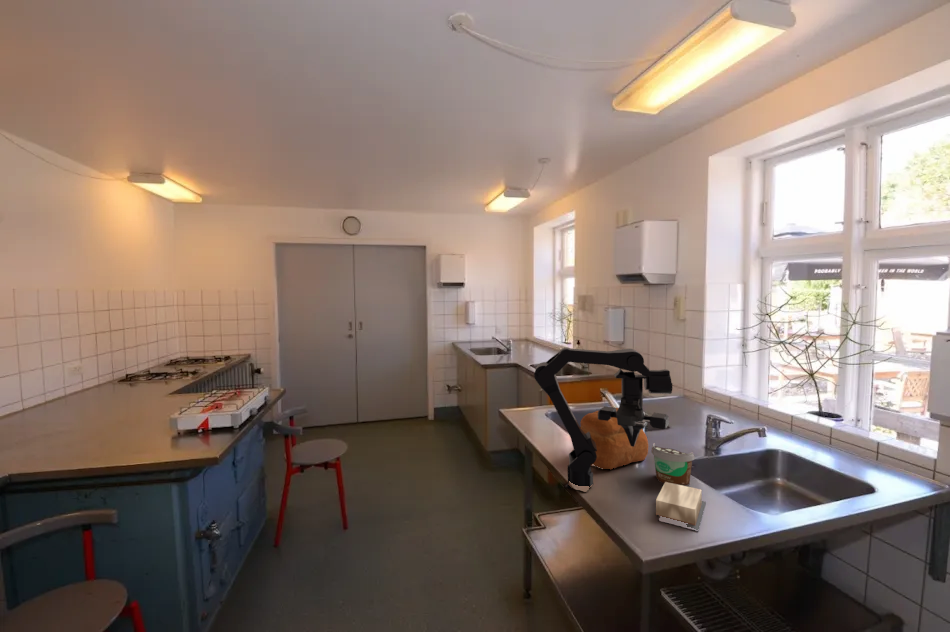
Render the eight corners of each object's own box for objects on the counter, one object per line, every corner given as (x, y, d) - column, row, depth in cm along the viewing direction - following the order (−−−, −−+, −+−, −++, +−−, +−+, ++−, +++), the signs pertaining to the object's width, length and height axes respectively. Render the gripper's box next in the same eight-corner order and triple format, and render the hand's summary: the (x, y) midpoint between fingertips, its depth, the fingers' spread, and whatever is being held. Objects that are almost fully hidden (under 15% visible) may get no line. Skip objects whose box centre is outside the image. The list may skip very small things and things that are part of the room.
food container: (644, 480, 128) (644, 448, 127) (652, 473, 132) (652, 442, 132) (687, 492, 119) (687, 458, 119) (694, 485, 123) (694, 452, 123)
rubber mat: (657, 521, 105) (657, 519, 105) (669, 494, 118) (669, 493, 118) (698, 532, 100) (698, 530, 100) (705, 503, 113) (705, 501, 113)
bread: (570, 457, 148) (569, 410, 147) (615, 445, 157) (615, 401, 156) (606, 475, 132) (605, 423, 131) (654, 461, 141) (653, 412, 140)
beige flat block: (656, 500, 107) (695, 509, 102) (665, 481, 117) (701, 489, 112) (656, 515, 107) (695, 525, 102) (665, 495, 117) (701, 504, 112)
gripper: (591, 395, 119) (591, 449, 120) (661, 403, 108) (661, 462, 109) (603, 387, 128) (604, 437, 129) (669, 394, 118) (669, 448, 119)
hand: (632, 446), depth 121 cm, fingers closed
